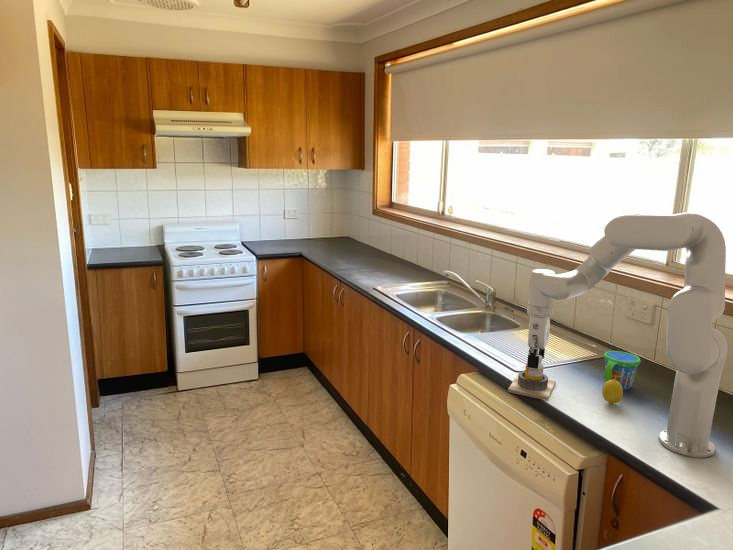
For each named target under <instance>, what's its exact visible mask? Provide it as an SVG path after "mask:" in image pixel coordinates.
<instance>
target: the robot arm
mask: <svg viewBox="0 0 733 550" xmlns="http://www.w3.org/2000/svg"><path fill="white" fill-rule="evenodd" d="M726 247H727V246H726V240H725V238H724V235H723V233H722V231H721V229H720V227H719V226H717V224H716V223H715V222H714V221H712V220H711V219H709V218H707V217H705V216H704V215H701V214H698V213H692V212H680V213H676V214H675V213H674V214H668V215H646V214H644V213H641V212H635V211H633V212H626V213H620V214H616V215H615V216H613V217H611V218H610V219H609V220H608V221H607V222H606V224H605V226H604V231H603V234H601V236H599V237H598V238H597V239H596V240H595V241H594V242H593V243H591V244H590V246H589V247H588V253H589V256H588V257H587V258H586V259H585V260H584V261H583V262H582V263H581V264H579V265H578V266H577V267H576V268H574V269H573V270H572V271H568V272H565V273H559V274H556V273H555V272H554V271H553V270H551V269H544V268H536V269H533V270H531V272H530V274H529V284H528V296H527V308H526V309H527V310H526V314H527V315H528V316H529V317H530V318H529V324H528V325H529V326H528V332H527V333H528V335H527V337H528V338H527V346H528V347H529V349H528V353H527V361H526V362H527V367H529V368H534V369H538V364H539V356H538V355H540V356H542V360H544V359H545V354H546V353H545V351H546V350H545V349H546V347H547V345H548V344H549V340H550V326H551V325H550V324H551V317H552V318H553V316H554V315H553V314H554V305H555V304H554V303H555V301H561V302H562V301H566V300H570V299H572V298H575V297H579V296H582V295H584V294H586V293H587V292H589V291H590V290H591V289H592V288H594V287H596V285H598V283H600V282H602V280H604V278H606V276H607V275H608V274H609V273H610V272H611V271H612V270H613V268H614V267H616V266H617V265H618V264H620V262H622V261H623V260H624V259H625V258H627V257H628V256H629V255H632V253H633V252H634V251H636V250H643V251H644V250H646V251H647V250H648V251H660V252H662V251H663V252H667V251H668V252H669V251H670V252H671V251H677V250H681V249H684V248H685V250H686V258H685V262H684V280H683V281H684V283H683V289H681V290H679V291H677V292H675V294H674V295H673V296H672V297H671V298H670V301H669V304H668V306H667V312H666V356H667V358H668V361H669V363H670V364H671V366H672V367H673V368H674V369H675V370H676V371H675V376H674V382H673V387H672V388H673V389H672V395H671V400H670V401H671V402H670V408H669V413H668V419H667V426H666V429H664V430H662V431H660V432H659V433H658V441H659V443H660V444H661V445H662V446H664V448H667V449H668V450H670V451H672V452H674V453H677V454H680V455H683V456H687V457H692V458H709V457H712V456H713V455H714V454H715V452H716V447H715V445H714V443H713V442H712V441H710V437H711V432H712V426H713V419H714V414H715V408H716V403H717V397H718V392H719V388H720V384H721V383H720V382H721V379H722V374H723V370H724V366H725V362H726V360H727V356H728V355H727V354H728V349H729V348H728V347H729V345H728V342H727V339H726V337H725V336H724V334H723V333H722V332H721V331H719V330H718V329H716V328H715V327H713V322H715V321H716V320H718V319H719V318H720V317H721V316H722V315H723V314H724V313H725V312H724V311H725V309H726V277H727V276H726V259H727V258H726V257H727V255H726V254H727V251H726V250H727V249H726Z"/></svg>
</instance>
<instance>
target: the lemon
mask: <svg viewBox="0 0 733 550" xmlns="http://www.w3.org/2000/svg"><path fill="white" fill-rule="evenodd" d="M601 392H602V397H603V399H604V400H605V402H607V403H608V404H609V405H614V404H618V403H619V402H620V401H621V400H622V399H623V394H624V390H623V388H622V385H621V384H620V383H619V382H618V381H616V380H615V379H613V380H609V381H607V382H606V381H605V383H604V384H603V387H602V391H601Z"/></svg>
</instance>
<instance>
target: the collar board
mask: <svg viewBox="0 0 733 550" xmlns="http://www.w3.org/2000/svg"><path fill="white" fill-rule="evenodd" d="M556 384H557V383H556V380H551V379H549V377H548V376H547V374H545V373H543V379H542V380H529V379H527V378H525V370H522V371H519V373H517V374H516V376H515V378H514V379H513V381H512V383H510V385H509V387H508V388H507V393H512V394H515V395H519V396H525V397H530V398H535V399H540V400H543V399H545V400H544V401H547V400H548V401H549V399H550V397H551V395H552V392H553V391H554V388H555V386H556Z"/></svg>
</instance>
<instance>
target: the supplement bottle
mask: <svg viewBox="0 0 733 550" xmlns="http://www.w3.org/2000/svg"><path fill="white" fill-rule="evenodd" d="M538 356H539V364H538V369H534V368H529V367H527V361H526V362H525V367H524V371H525V378H527V379H529V380H542V379H543V374H544V367H545V365H544V364H543V362H542V361H543V359H542V356H540V355H538Z"/></svg>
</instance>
